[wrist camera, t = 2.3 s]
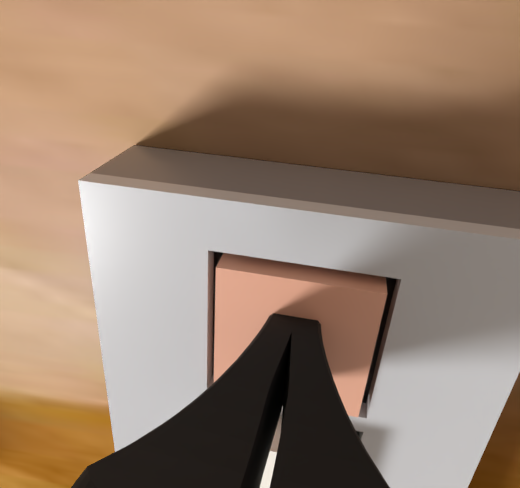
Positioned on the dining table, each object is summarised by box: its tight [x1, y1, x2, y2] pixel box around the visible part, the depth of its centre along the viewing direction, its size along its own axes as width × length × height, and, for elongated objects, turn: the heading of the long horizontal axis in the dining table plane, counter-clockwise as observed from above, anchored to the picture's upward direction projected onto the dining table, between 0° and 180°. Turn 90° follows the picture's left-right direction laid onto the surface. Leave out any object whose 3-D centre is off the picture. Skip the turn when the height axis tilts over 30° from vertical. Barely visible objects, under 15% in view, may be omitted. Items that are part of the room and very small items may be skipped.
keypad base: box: [78, 145, 520, 488], centre depth 17 cm, size 19×12×3 cm, turn 177°
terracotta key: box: [214, 253, 387, 417], centre depth 14 cm, size 4×4×2 cm
